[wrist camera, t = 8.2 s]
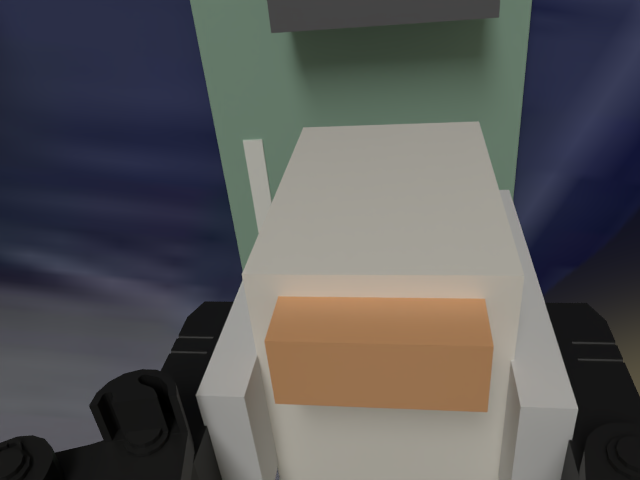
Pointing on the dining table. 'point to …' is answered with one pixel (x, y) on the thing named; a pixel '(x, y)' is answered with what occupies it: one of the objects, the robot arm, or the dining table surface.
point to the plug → (386, 305)
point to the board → (353, 79)
